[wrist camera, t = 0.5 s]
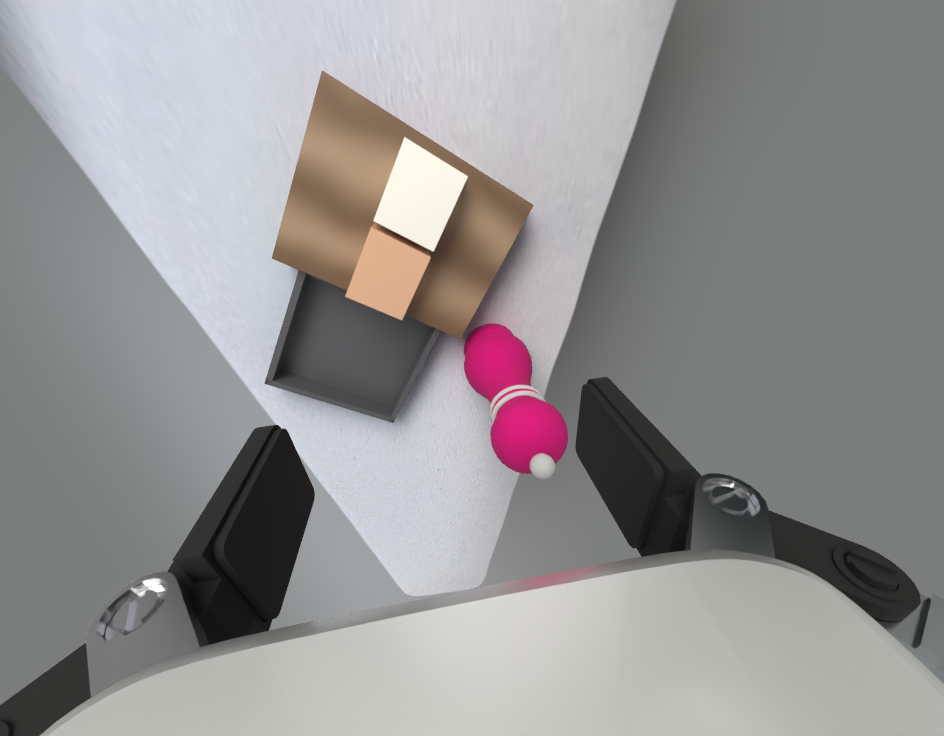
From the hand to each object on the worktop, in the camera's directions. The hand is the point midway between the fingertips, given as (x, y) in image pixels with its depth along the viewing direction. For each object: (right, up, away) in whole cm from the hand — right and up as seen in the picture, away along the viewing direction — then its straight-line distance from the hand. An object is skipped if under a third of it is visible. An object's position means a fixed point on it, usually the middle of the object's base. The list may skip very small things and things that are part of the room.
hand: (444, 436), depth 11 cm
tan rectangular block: (-6, +11, +19) cm, 23 cm away
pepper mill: (+3, +5, +30) cm, 30 cm away
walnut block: (-5, +16, +22) cm, 27 cm away
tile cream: (-3, +16, +17) cm, 24 cm away
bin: (-12, +5, +27) cm, 30 cm away
